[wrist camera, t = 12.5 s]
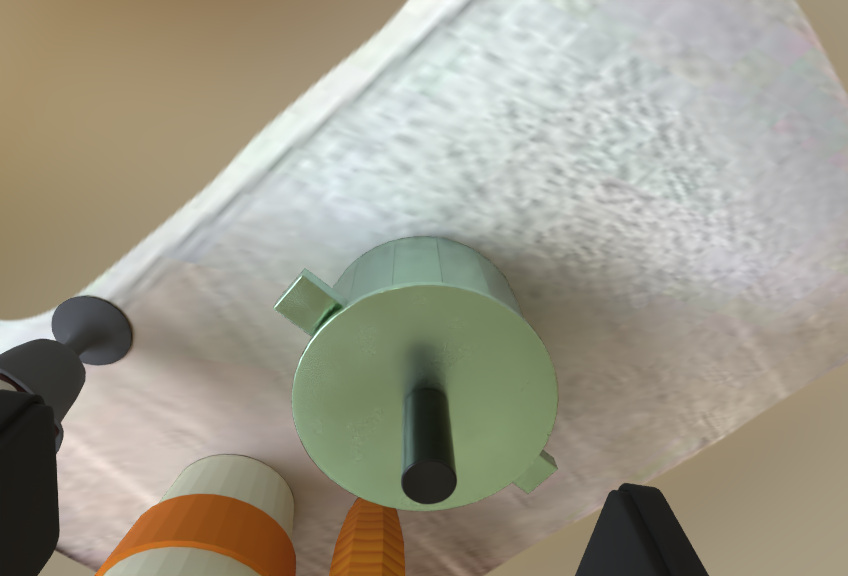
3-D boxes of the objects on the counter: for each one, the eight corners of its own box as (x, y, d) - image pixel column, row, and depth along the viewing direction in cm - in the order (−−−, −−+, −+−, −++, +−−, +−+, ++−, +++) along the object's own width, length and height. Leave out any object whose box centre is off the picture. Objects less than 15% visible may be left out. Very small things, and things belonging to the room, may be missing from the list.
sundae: (94, 263, 36) (-106, 401, 22) (166, 346, 38) (26, 518, 24) (15, 313, 37) (-223, 475, 23) (89, 391, 39) (-85, 580, 25)
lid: (412, 220, 27) (413, 271, 21) (607, 384, 31) (656, 468, 25) (243, 408, 31) (202, 497, 25) (434, 534, 34) (440, 639, 28)
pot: (377, 164, 34) (368, 199, 26) (586, 343, 39) (631, 419, 31) (251, 312, 37) (209, 383, 29) (457, 460, 42) (468, 555, 34)
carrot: (419, 500, 43) (424, 712, 30) (358, 520, 44) (335, 738, 30) (393, 450, 42) (384, 651, 28) (330, 472, 42) (291, 680, 28)
